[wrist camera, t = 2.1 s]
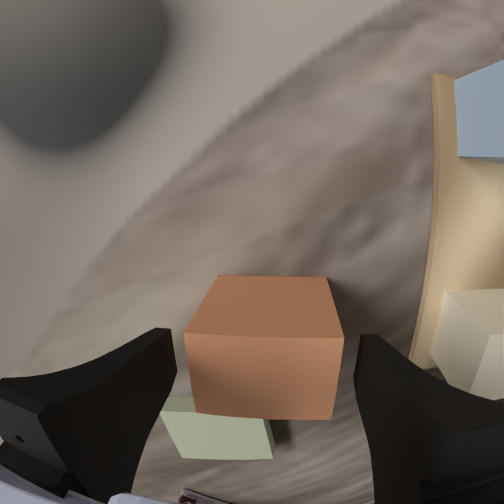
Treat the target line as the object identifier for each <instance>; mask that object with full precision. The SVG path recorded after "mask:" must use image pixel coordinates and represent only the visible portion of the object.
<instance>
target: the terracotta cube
mask: <svg viewBox="0 0 504 504" xmlns="http://www.w3.org/2000/svg"><path fill="white" fill-rule="evenodd" d="M184 338H185V346H186V353H187V360H188V367H189V374H190V380H191V387H192V393H193V399H194V405H195V411H196V413H200V414H208V415H218V416H228V417H241V418H256V419H279V420H330V419H331V417H332V412H333V407H334V401H335V396H336V390H337V384H338V378H339V372H340V365H341V358H342V352H343V344H344V335H343V331H342V328H341V324H340V321H339V318H338V314H337V311H336V308H335V304H334V301H333V298H332V294H331V291H330V288H329V285H328V281H327V278H326V277H283V276H234V275H218V277H217V278H216V280H215V282H214V283H213V285H212V287H211V288H210V290H209V292H208V293H207V295H206V297H205V298H204V300H203V302H202V303H201V305H200V306H199V308H198V310H197V311H196V313H195V315H194V316H193V318H192V320H191V321H190V323H189V325H188V326H187V328H186V330H185V331H184Z"/></svg>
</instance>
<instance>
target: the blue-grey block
mask: <svg viewBox="0 0 504 504" xmlns="http://www.w3.org/2000/svg"><path fill="white" fill-rule="evenodd" d="M454 90H455V102H456V117H457V156H459V157H466V158H472V159H478V160H484V161H489V162H495V163H500V164H504V60H502V61H500V62H497V63H495V64H492V65H490V66H487V67H485V68H483V69H480V70H478V71H475V72H473V73H471V74H468V75H466V76H464V77H461V78H459V79H457V80H455V81H454Z"/></svg>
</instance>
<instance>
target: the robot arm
mask: <svg viewBox="0 0 504 504" xmlns="http://www.w3.org/2000/svg"><path fill="white" fill-rule="evenodd" d="M176 374H177V366H176V360H175V354H174V348H173V341H172V334H171V329H167V328H154V329H152V330H150V331H148V332H146V333H144V334H142V335H141V336H139V337H137V338H135V339H133V340H132V341H130V342H128V343H126V344H125V345H123V346H121V347H119V348H117V349H115V350H113V351H111V352H109V353H107V354H105V355H103V356H101V357H99V358H97V359H94V360H92V361H89V362H87V363H84V364H81V365H79V366H76V367H72V368H69V369H65V370H61V371H58V372H54V373H49V374H44V375H37V376H30V377H16V378H2V379H1V380H0V436H1V437H2V439H3V440H4V442H3V443H2V444H1V446H0V504H180V503H175V502H170V501H166V500H161V499H157V498H153V497H149V496H145V495H138V494H132V493H131V489H132V485H133V481H134V478H135V474H136V471H137V467H138V464H139V461H140V458H141V455H142V452H143V449H144V446H145V443H146V440H147V438H148V436H149V434H150V431H151V429H152V427H153V425H154V423H155V422H156V420H157V418H158V416H159V414H160V412H161V410H162V408H163V406H164V404H165V402H166V400H167V398H168V396H169V394H170V392H171V389H172V386H173V383H174V380H175V377H176ZM353 378H354V386H355V393H356V400H357V403H358V407H359V411H360V414H361V418H362V422H363V425H364V429H365V432H366V436H367V440H368V444H369V449H370V454H371V462H372V471H373V483H374V500H375V504H504V402H500V401H495V400H491V399H487V398H484V397H480V396H477V395H474V394H471V393H468V392H465V391H463V390H461V389H458V388H456V387H453V386H451V385H449V384H447V383H445V382H443V381H441V380H440V379H438V378H436V377H434V376H432V375H431V374H429V373H427V372H426V371H424V370H423V369H421V368H420V367H419V366H417V365H416V364H414V363H413V362H411V361H410V360H409V359H407V358H406V357H405V356H404V355H402V354H401V353H400V352H399V351H397V350H396V349H395V348H394V347H392V346H391V345H390V344H389V343H387V342H386V341H385V340H384V339H383V338H381V337H380V336H379V335H377V334H361V337H360V343H359V349H358V355H357V361H356V366H355V372H354V377H353Z"/></svg>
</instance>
